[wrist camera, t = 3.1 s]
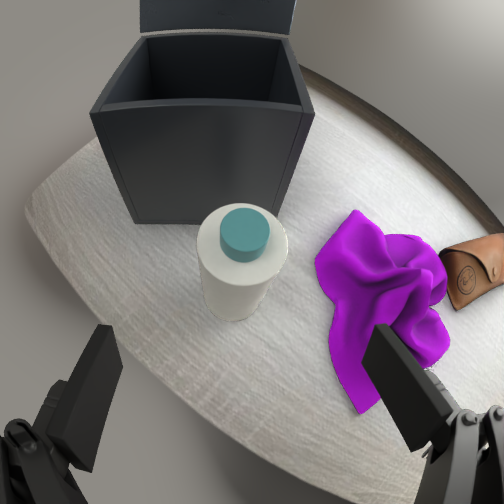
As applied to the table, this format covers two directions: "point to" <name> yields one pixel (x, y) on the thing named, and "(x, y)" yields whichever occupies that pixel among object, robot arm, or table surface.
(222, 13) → the lid
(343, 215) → the table surface
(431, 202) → the table surface
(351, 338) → the cloth
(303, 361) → the table surface
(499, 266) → the sunglasses case
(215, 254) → the white bottle
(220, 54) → the dark grey open box
